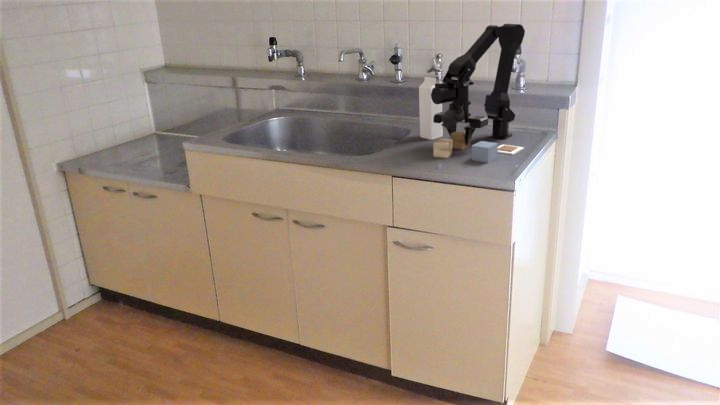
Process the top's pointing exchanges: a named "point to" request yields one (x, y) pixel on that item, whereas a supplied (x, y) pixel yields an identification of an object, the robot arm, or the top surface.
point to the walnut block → (459, 140)
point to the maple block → (442, 148)
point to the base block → (484, 151)
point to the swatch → (509, 149)
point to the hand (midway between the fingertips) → (460, 143)
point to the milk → (429, 111)
